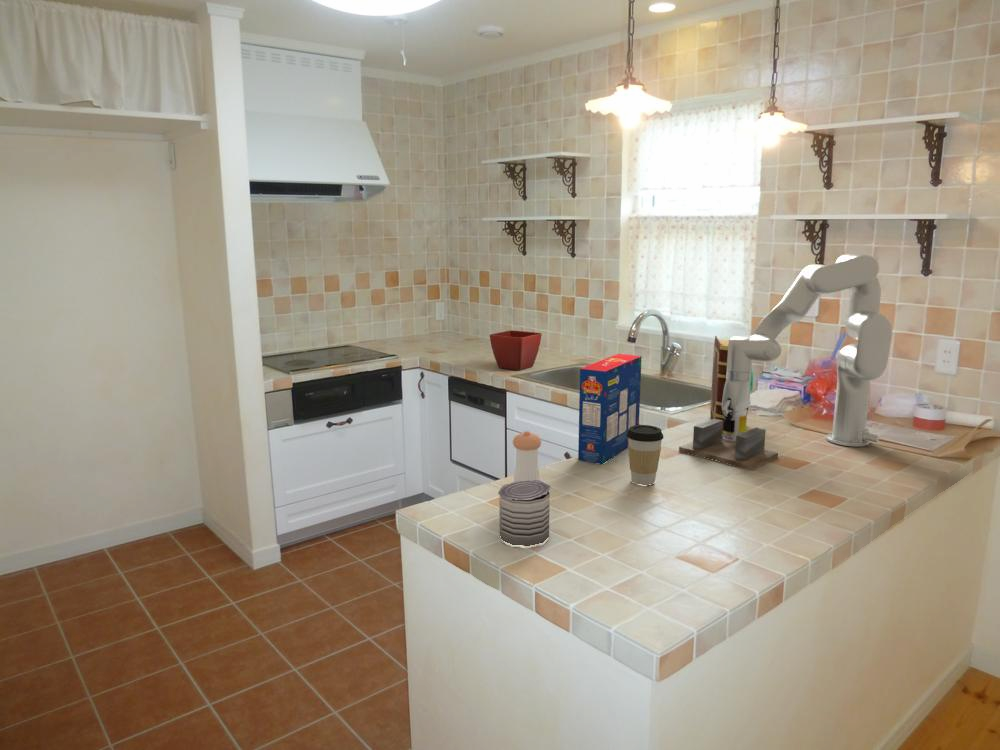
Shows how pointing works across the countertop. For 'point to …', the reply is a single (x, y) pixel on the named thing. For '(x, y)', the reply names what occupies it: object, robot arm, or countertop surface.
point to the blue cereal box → (608, 406)
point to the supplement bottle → (737, 425)
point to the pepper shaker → (526, 456)
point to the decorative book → (719, 379)
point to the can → (524, 512)
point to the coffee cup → (644, 452)
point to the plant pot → (515, 349)
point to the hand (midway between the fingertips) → (735, 428)
